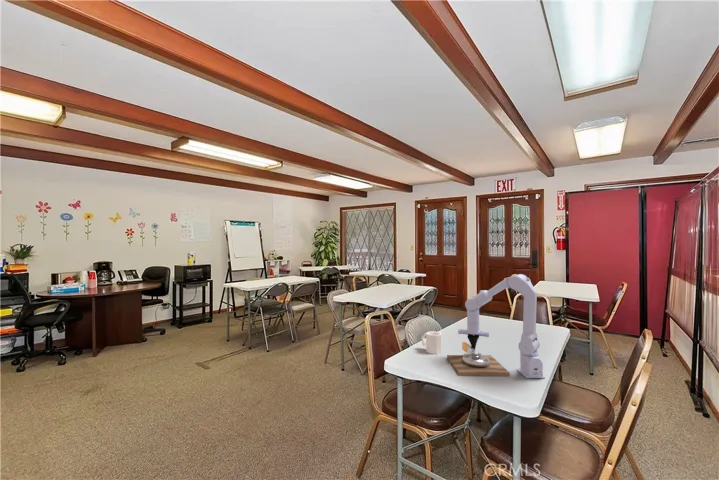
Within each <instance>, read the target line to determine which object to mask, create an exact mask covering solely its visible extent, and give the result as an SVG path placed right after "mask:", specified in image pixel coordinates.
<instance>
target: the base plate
mask: <svg viewBox="0 0 719 480" xmlns="http://www.w3.org/2000/svg"><path fill="white" fill-rule="evenodd" d="M482 355H483V354H482ZM463 356H464V354H447V355H446V359H447V360H448V362H449V363H450V364H451V366H452V367H453V369H454V371H456V373H457V375H458V376H460V377H461V376H462V377H463V376H464V377H465V376H466V377H473V376H474V377H478V376H479V377H510V376H511V373H510V371H509V370H507V368H506V367H504V366H503V365H502V364H501V363H500V362H499V361H497V359H496V358H495V357H494V356H492V355H490V354H488V355H487V354H486V355H485V354H484V355H483V356H486V357H488V358H489V359H490V365H489V366H487V367H472V366H469V365H466V364H464V363H463Z"/></svg>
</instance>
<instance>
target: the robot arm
mask: <svg viewBox="0 0 719 480" xmlns="http://www.w3.org/2000/svg"><path fill="white" fill-rule="evenodd" d="M505 289H512V290H514V291H516V292H518V293H519V294H520V295H522V297H523V312H522V313H523V317H522V318H523V319H522V332H521V333H522V334H521V337H520V342H519V343H518V347H517V348H518V349H519V350H518V351H519V352H520V353H519V355H520V356H519V357H520V358H519V363H520V364H519V365H520V366H519V367H520V368H516V370H517V371H518V372H519V373H520V374H521V375H522V376H524V377H525V378H526V379H546V378H545V375H544V372H543V370H544V369H543V368H544V367H543V364H544V363H543V362H542V360H541V359H540V358H539V352H538V349H539V348H540V341H539V339H538V334H537V302H538V301H537V300H538V299H537V298H538V292H537V291H536V288H535V287H534V285H533V284H532V282H531V279H530V277H527V275H525V274H523V273H518V274H516V275H515V274H514V275H510V276H509V277H507V278H505V279H503V280H501V281H500V282H498V283H497V284H495V285H494V286H493V287H491V288H489V289H488V290H485V289H484V290H482V289H481V290H479V293H477V294H475V295H472V297H471V298H468V299H466V301H465V303H464V307H465V308H466V319H467V321H466V323H467V329H462V328H461V329H458V331H457V333H458V334H457V335H461V334H462V335H467V339H468V341H469V345H470V346H471V347H473V348H474V349H475V350H476V346H477V343H478V340H479V338H480V337H484V338H485V337H486V338H490V332H487V331H483V330H482V331H481V330H480V309H481V307H483V306H485V305H486V304H487V303H489V302H491V301H492V300H493V296H495V295H497V294H498V293H500V292H502V291H503V290H505Z"/></svg>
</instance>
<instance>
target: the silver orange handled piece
mask: <svg viewBox="0 0 719 480" xmlns="http://www.w3.org/2000/svg"><path fill="white" fill-rule="evenodd" d="M461 343H462V344H461V347H462V350H463V352H465V353H463V355H464V356H463V363H464V364H466V365H469V366H472V367H487V366H489V365H490V359H489V358H488V357H486V356H483V353H480V352H478V353H476V352H475V351H476V348H475V349H474V348H473V347H471V344H470V343H467V342H465V341H463V342H461Z"/></svg>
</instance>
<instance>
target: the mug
mask: <svg viewBox="0 0 719 480" xmlns="http://www.w3.org/2000/svg"><path fill="white" fill-rule="evenodd" d="M420 339H421V343H422V346H426V347H425V348H426V350H425V351H426V352H425V353H428V354H431V355H439V354H440V355H441V354H442V352H443V333H442V332H440V331H433V330H432V331H427V332H426V333H424V334H422V335H421V337H420Z"/></svg>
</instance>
